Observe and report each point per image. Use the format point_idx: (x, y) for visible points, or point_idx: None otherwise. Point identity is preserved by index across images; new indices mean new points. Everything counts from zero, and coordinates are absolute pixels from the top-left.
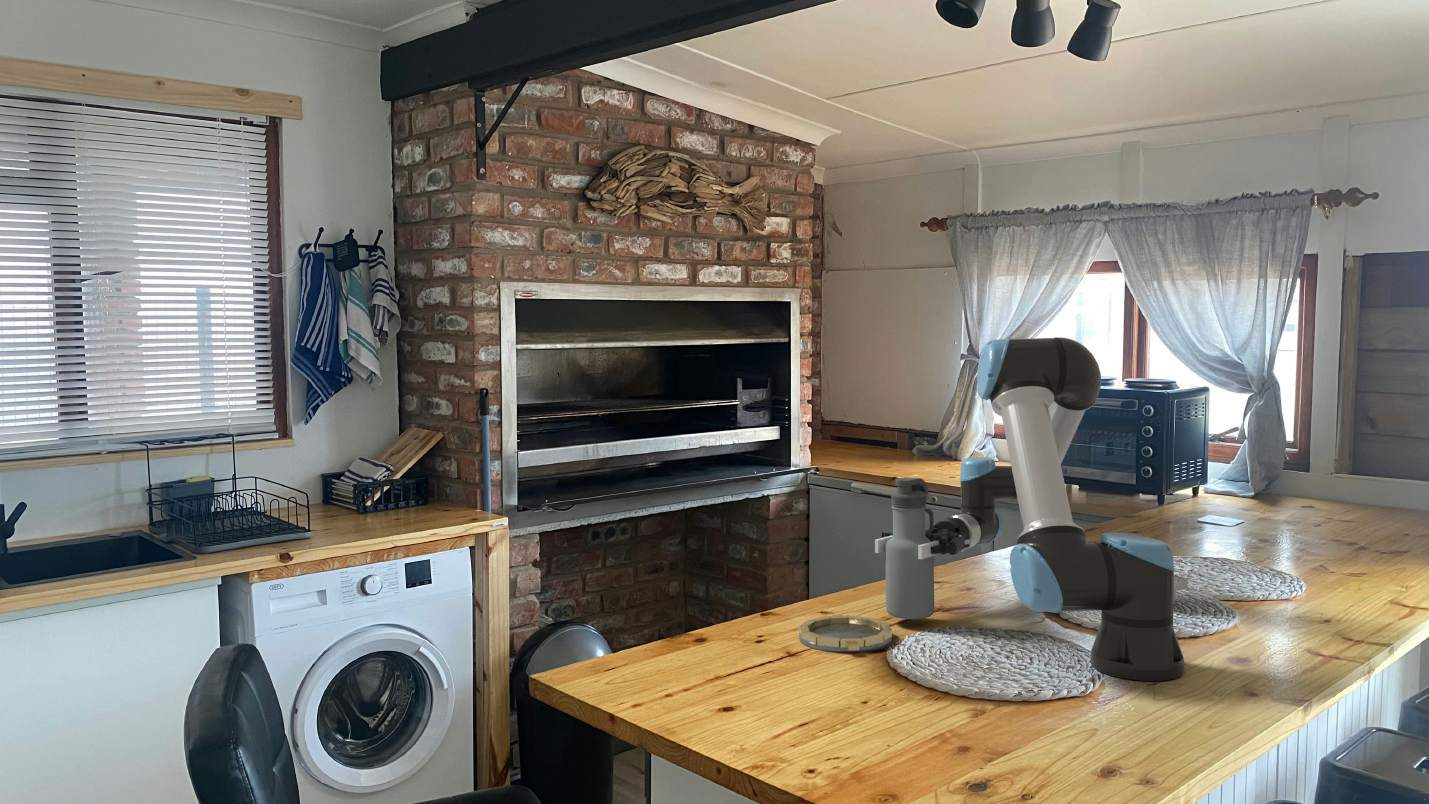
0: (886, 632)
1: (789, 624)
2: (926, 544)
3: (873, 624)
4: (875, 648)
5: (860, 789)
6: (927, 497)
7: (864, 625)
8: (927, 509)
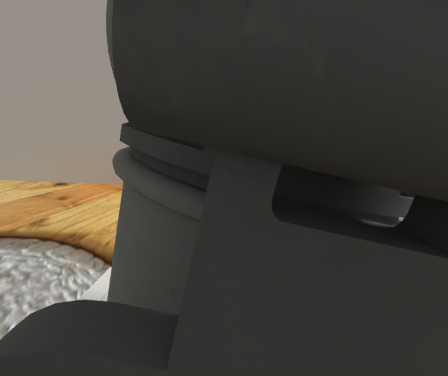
0: None
1: None
2: (87, 290)
3: None
4: None
5: (115, 185)
6: (135, 42)
7: None
8: (98, 308)
